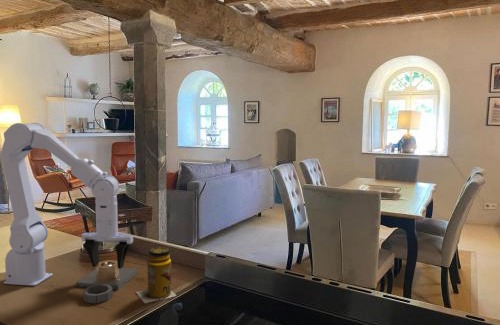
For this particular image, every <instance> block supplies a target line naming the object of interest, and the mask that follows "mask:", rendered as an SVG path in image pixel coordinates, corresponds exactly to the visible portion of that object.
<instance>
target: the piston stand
mask: <svg viewBox="0 0 500 325" xmlns="http://www.w3.org/2000/svg"><path fill="white" fill-rule="evenodd" d="M104 266H112V264H105V265H104ZM137 273H138V268H129V267H122V268H121V269H119V275H118V276H117V277H116V278H112V279H107V280H105V279H99V278H98V277H97V274H96V268H94V270H92V271H91V272H89V273H87V274H86V275H85V276H84V277H82V278H80V279H79V280H78V281H76V287H77V288H78V287H79V288H88V287H89V286H93V285H98V284H106V285H110V286H111V287H112V288H113V290H117V291H119V290H120V289H121V288H122V287H123V286H124V285H126V283H128V282H129V281H130V280H131V279H132V278H133V277H134V276H135V275H137Z"/></svg>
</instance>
